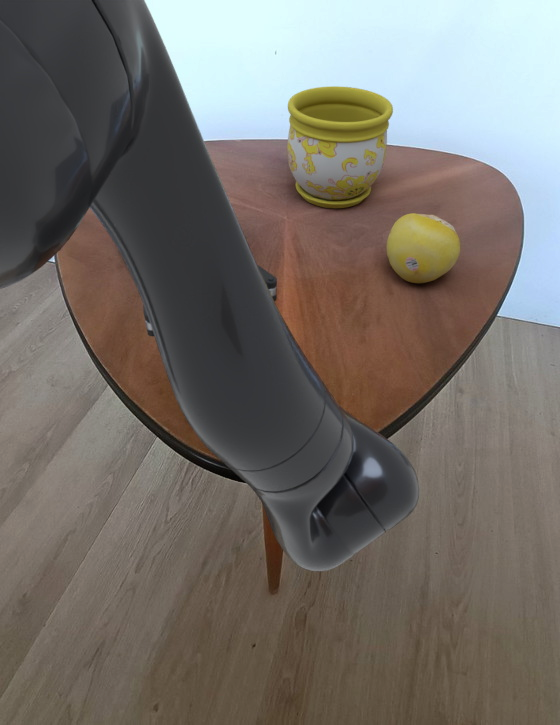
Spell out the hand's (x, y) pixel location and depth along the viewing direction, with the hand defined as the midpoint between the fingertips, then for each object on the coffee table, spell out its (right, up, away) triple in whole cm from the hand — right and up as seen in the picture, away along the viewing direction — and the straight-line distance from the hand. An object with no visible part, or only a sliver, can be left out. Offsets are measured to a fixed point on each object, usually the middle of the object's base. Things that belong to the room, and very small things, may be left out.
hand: (180, 255), depth 60 cm
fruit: (+32, +2, +27) cm, 42 cm away
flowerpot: (+21, +21, +46) cm, 55 cm away
